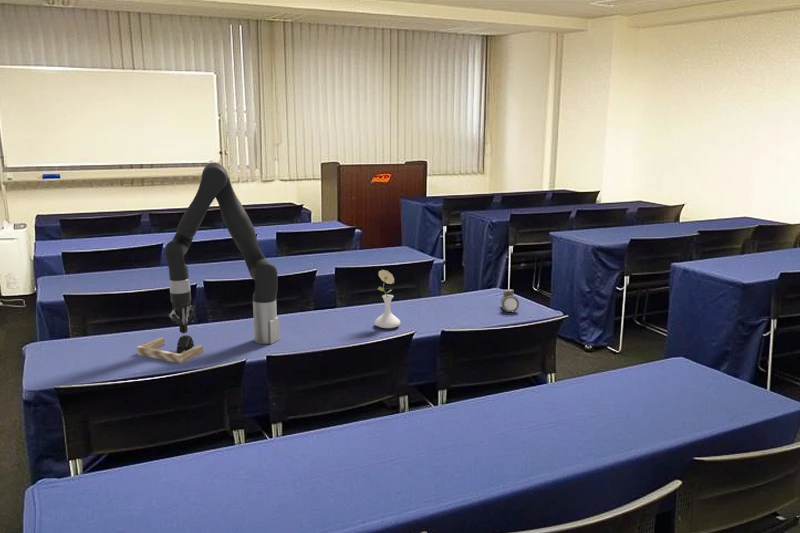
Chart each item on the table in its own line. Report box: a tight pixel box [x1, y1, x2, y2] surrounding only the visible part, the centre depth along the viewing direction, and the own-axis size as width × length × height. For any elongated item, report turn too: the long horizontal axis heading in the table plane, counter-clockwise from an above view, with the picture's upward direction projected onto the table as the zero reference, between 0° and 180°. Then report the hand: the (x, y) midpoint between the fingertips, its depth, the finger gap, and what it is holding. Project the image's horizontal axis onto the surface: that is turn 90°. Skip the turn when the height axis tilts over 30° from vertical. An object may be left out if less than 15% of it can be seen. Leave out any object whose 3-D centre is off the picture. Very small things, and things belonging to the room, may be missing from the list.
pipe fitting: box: [500, 288, 520, 313], centre depth 309 cm, size 12×8×10 cm
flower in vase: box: [374, 269, 401, 329], centre depth 280 cm, size 13×11×25 cm
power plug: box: [175, 334, 195, 354], centre depth 246 cm, size 6×8×12 cm
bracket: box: [136, 337, 204, 364], centre depth 246 cm, size 21×12×3 cm, turn 66°
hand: (183, 332), depth 252 cm, fingers closed
